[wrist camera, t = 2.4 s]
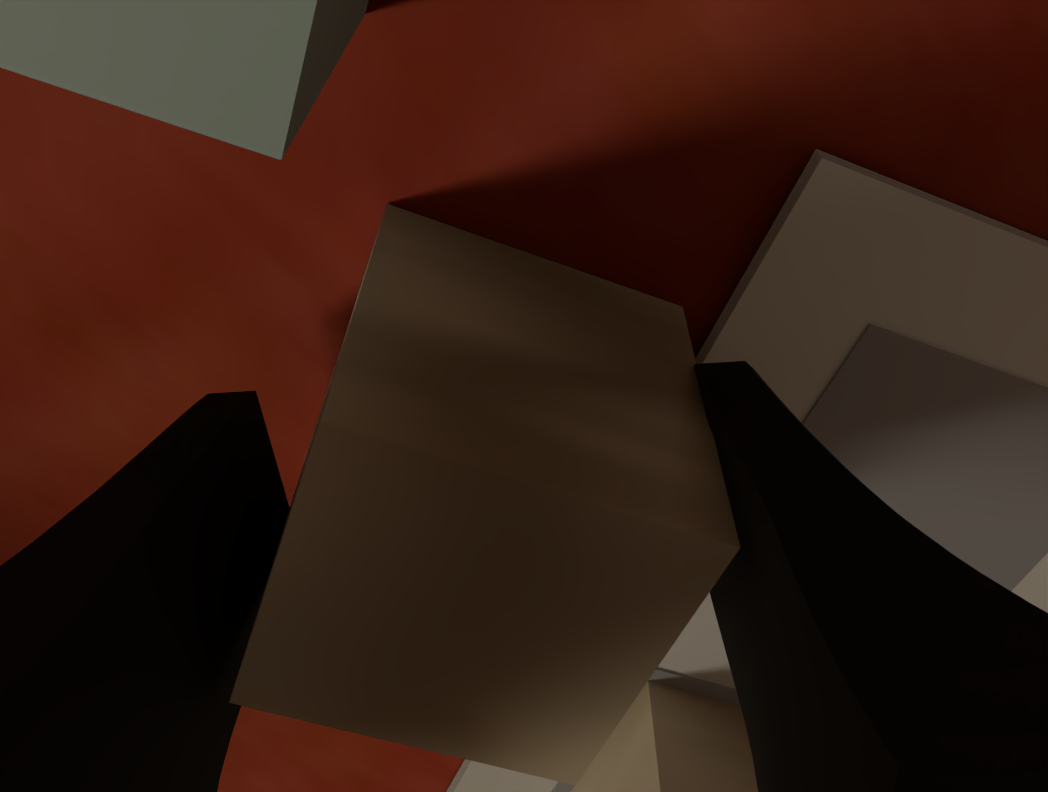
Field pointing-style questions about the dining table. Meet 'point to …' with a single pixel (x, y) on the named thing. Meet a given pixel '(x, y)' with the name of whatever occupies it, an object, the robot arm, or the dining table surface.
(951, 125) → the dining table surface
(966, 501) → the mat
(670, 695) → the block
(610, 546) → the block
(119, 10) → the beam
